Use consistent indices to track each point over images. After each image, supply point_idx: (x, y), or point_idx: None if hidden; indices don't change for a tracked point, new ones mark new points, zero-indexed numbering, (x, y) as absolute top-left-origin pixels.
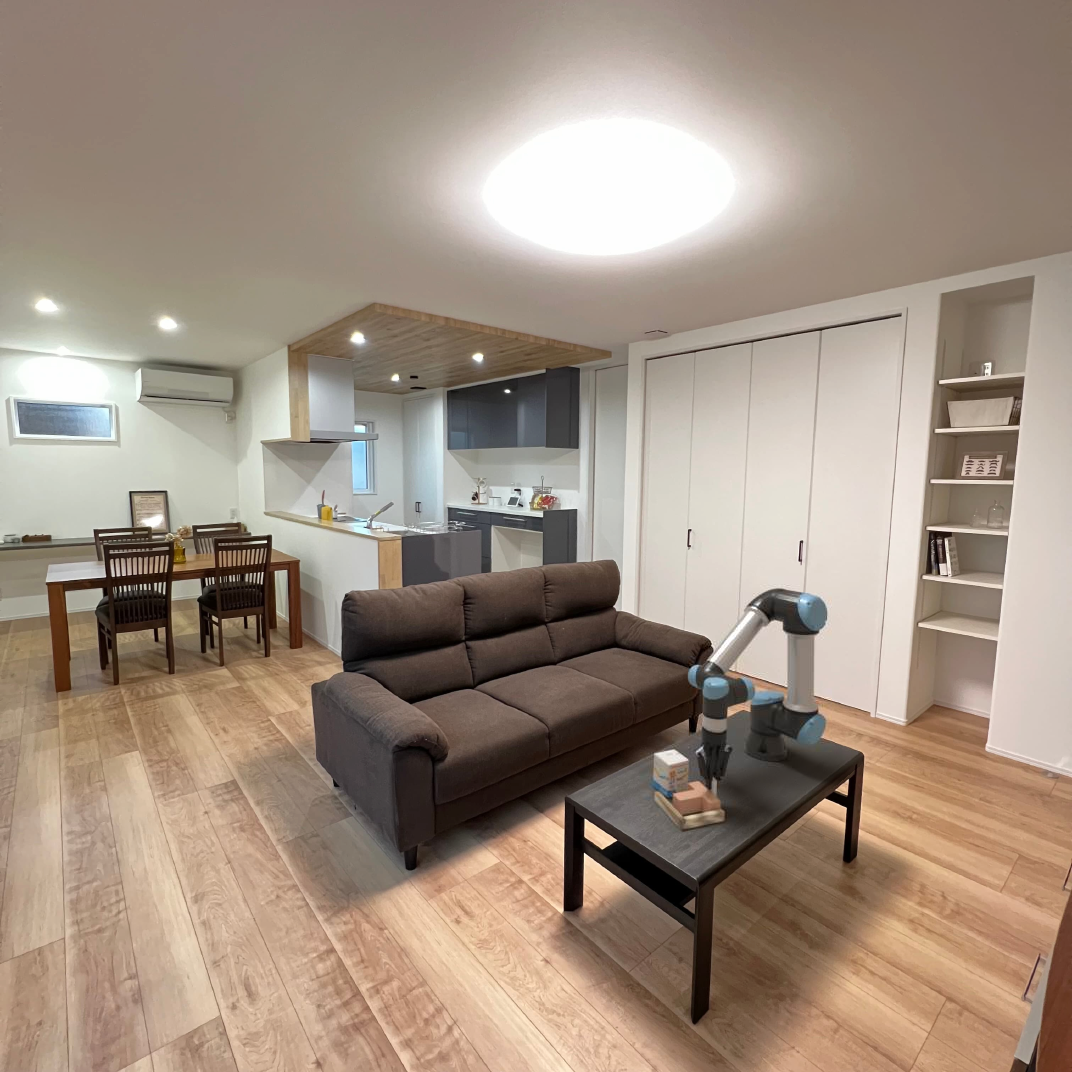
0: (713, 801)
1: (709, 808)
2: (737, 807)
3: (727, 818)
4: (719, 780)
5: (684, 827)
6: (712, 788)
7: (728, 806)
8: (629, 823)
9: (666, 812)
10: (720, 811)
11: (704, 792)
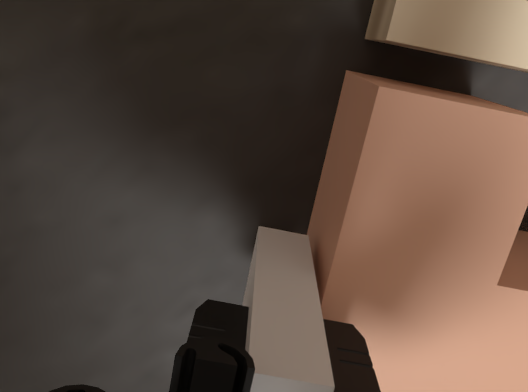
0: (476, 127)
1: (518, 111)
2: (79, 92)
3: (312, 2)
4: (220, 346)
5: None
6: (321, 312)
7: (149, 147)
8: None
9: None
10: (444, 3)
11: (397, 327)
